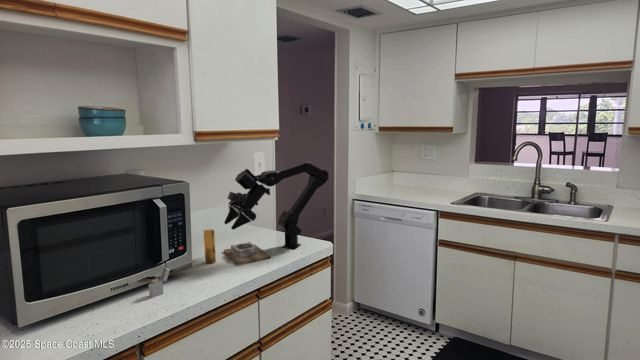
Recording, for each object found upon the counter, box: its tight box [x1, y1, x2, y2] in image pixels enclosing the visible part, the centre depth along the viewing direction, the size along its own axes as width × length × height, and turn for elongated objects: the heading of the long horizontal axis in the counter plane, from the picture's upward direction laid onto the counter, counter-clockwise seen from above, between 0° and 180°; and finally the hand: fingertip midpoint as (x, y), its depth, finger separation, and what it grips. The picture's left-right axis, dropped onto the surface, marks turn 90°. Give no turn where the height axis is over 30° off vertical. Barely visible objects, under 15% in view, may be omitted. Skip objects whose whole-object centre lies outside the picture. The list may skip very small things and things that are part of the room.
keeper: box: [223, 241, 272, 266], centre depth 167 cm, size 14×18×4 cm
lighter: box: [148, 268, 170, 299], centre depth 132 cm, size 7×2×8 cm, turn 144°
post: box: [203, 228, 217, 265], centre depth 159 cm, size 4×4×13 cm
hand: (228, 226), depth 162 cm, fingers open, 9 cm apart
